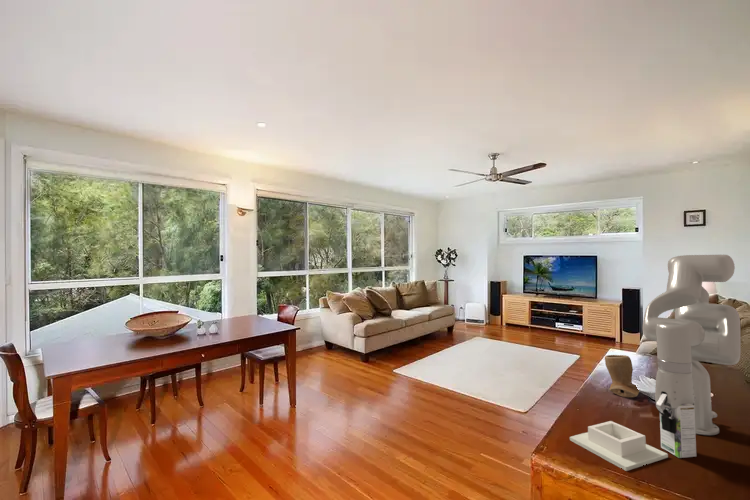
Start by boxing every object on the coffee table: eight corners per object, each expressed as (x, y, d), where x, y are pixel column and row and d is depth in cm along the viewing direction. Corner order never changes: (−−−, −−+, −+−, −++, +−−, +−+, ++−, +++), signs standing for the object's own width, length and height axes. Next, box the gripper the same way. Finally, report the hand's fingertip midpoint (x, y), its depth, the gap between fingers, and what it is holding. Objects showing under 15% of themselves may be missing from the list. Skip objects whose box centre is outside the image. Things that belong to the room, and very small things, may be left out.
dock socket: (608, 430, 112) (607, 414, 112) (668, 457, 96) (667, 439, 97) (569, 440, 106) (569, 423, 107) (626, 471, 91) (625, 451, 91)
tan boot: (608, 383, 154) (607, 349, 154) (642, 390, 146) (640, 354, 146) (601, 393, 143) (600, 357, 143) (637, 401, 135) (635, 362, 135)
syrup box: (659, 447, 101) (657, 397, 102) (678, 446, 102) (675, 396, 102) (678, 458, 96) (675, 405, 96) (698, 457, 96) (695, 404, 97)
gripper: (678, 359, 106) (681, 418, 106) (640, 366, 100) (643, 428, 100) (708, 366, 99) (712, 429, 98) (669, 374, 93) (673, 441, 93)
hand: (677, 428), depth 99 cm, fingers closed on syrup box, 6 cm apart
